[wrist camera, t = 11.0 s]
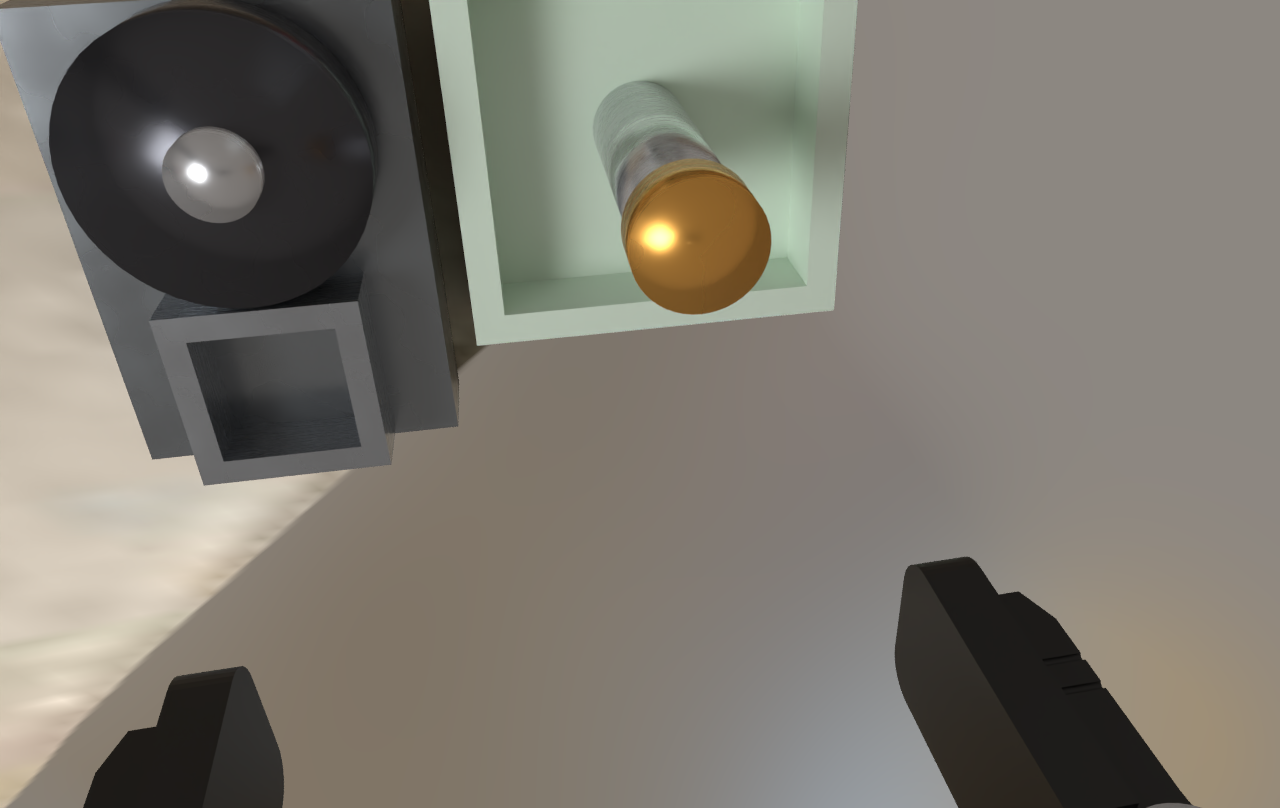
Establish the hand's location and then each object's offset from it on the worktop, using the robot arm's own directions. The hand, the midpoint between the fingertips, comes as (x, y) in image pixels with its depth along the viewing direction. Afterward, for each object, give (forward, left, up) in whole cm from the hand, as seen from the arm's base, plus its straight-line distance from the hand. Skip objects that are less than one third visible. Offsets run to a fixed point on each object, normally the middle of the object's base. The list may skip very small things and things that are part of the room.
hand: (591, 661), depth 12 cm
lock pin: (0, +4, -23) cm, 23 cm away
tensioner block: (+2, -8, -23) cm, 25 cm away
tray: (0, +4, -23) cm, 23 cm away
